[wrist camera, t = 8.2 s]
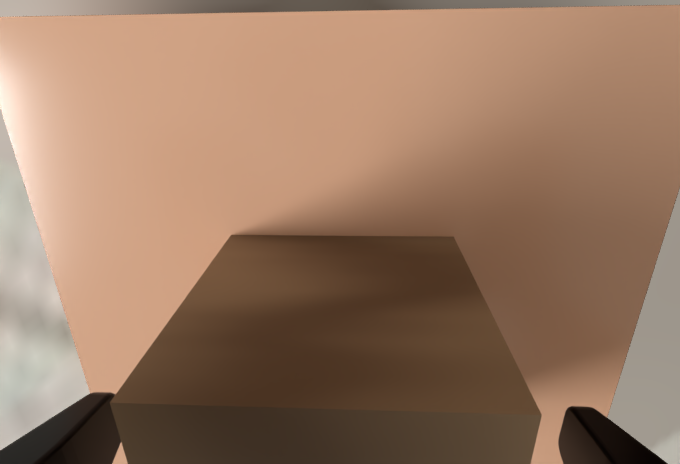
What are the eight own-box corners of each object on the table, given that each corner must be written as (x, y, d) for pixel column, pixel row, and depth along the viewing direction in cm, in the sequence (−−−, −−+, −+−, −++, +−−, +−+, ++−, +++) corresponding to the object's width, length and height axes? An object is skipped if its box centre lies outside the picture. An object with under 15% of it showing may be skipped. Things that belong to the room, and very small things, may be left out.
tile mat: (703, 8, 8) (737, 3, 7) (561, 498, 14) (573, 524, 13) (4, 20, 9) (-29, 17, 8) (137, 482, 14) (125, 505, 14)
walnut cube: (453, 236, 9) (541, 414, 5) (436, 407, 11) (486, 652, 7) (231, 235, 10) (109, 402, 5) (252, 402, 12) (178, 633, 7)
